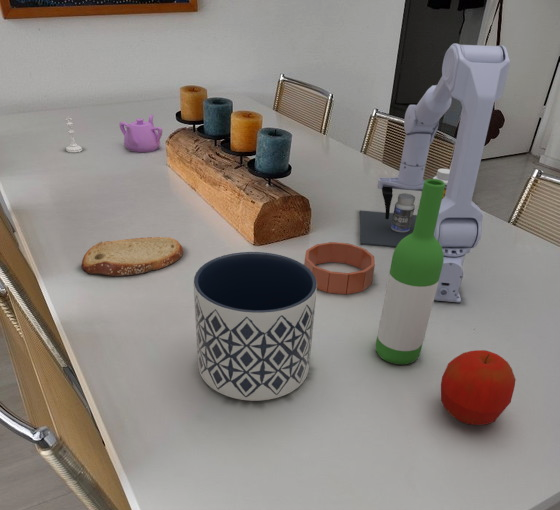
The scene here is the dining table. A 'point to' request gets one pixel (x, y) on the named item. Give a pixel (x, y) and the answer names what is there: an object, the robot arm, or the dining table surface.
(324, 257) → the bracelet
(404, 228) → the pill bottle
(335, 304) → the dining table surface
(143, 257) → the slice of bread
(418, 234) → the wine bottle
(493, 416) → the apple
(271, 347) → the planter
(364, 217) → the mat
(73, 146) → the chess piece
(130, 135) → the teapot
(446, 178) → the supplement bottle
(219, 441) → the dining table surface
